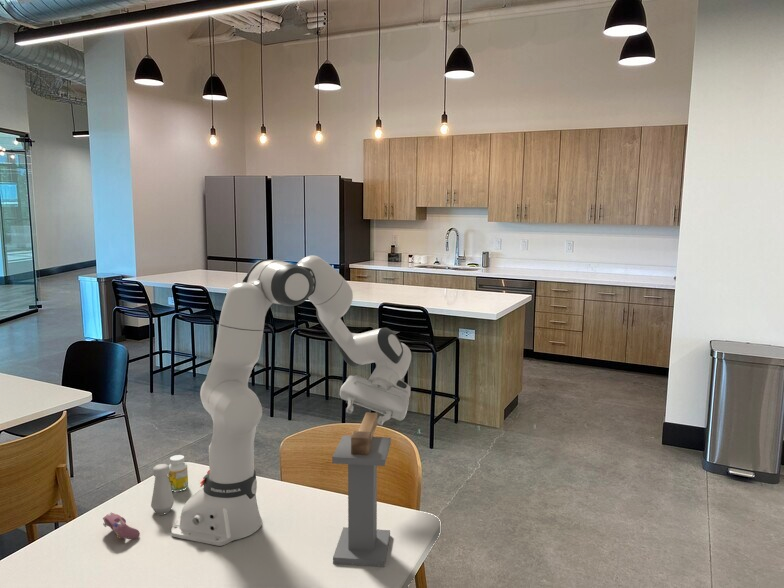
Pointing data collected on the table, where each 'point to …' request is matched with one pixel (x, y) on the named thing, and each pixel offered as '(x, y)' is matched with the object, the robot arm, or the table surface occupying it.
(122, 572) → the table surface
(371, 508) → the charcoal stand
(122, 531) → the pink toy figure
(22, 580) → the table surface
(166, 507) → the salt shaker
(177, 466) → the supplement bottle
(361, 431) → the oak shaft
